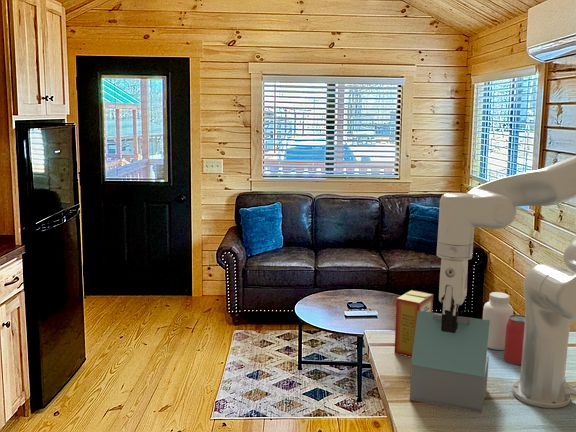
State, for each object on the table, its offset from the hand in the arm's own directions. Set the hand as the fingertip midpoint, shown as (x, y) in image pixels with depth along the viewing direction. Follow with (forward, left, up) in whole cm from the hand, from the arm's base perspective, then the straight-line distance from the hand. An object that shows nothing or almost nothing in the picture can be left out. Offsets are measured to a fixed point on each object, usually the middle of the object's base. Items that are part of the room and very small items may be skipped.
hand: (449, 329), depth 135 cm
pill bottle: (-8, -41, -18) cm, 45 cm away
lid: (0, -2, -4) cm, 4 cm away
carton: (0, -5, -18) cm, 18 cm away
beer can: (-14, -32, -18) cm, 39 cm away
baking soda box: (+13, -28, -18) cm, 36 cm away
